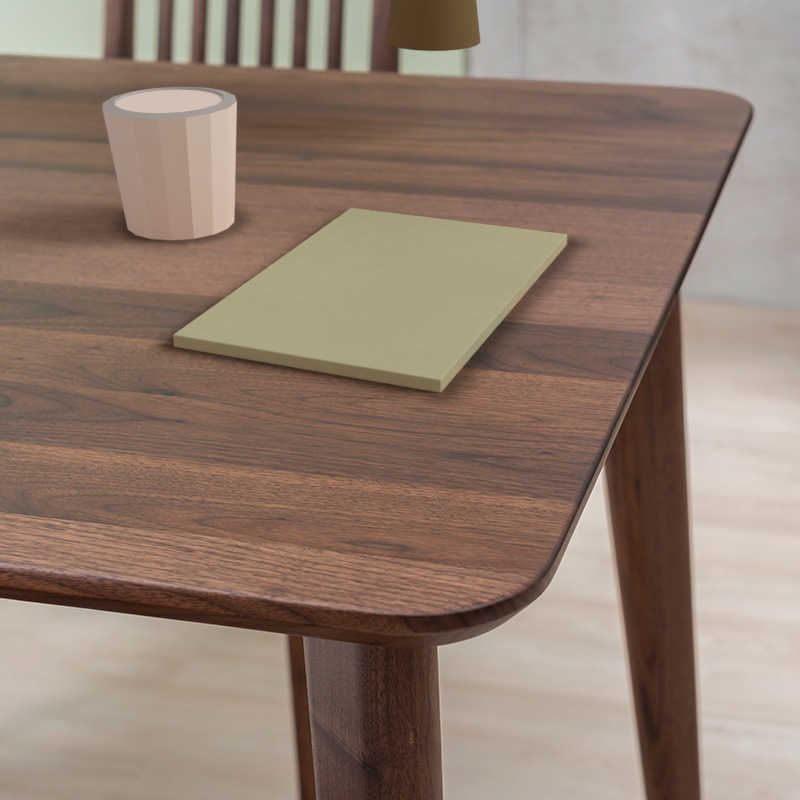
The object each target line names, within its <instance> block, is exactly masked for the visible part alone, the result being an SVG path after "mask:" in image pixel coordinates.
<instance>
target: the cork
mask: <svg viewBox="0 0 800 800" xmlns="http://www.w3.org/2000/svg"><path fill="white" fill-rule="evenodd" d="M479 22H480V21H479V14H478V2H477V0H391V6H390V15H389V23H388V31H387V44H388V45H389V46H392V47H394V48H398V49H401V50H402V49H403V50H409V51H419V52H420V51H422V52H449V51H459V50H465V49H471V48H474V47H476V46H478V45H480V44H481V33H480V23H479Z"/></svg>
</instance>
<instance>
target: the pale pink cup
mask: <svg viewBox="0 0 800 800" xmlns="http://www.w3.org/2000/svg"><path fill="white" fill-rule="evenodd" d="M101 107H102V109H101V110H102V114H103V118H104V119H103V120H104V123H105V128H106V133H107V137H108V142H109V147H110V152H111V157H112V161H113V164H114V165H113V167H114V170H115V175H116V180H117V185H118V190H119V194H120V199H121V204H122V208H123V213H124V219H125V223H126V228H127V230H128V231H129V232H131V233H132V234H133V235H135V236H137V237H141V238H145V239H150V240H159V241H161V240H162V241H182V240H195V239H200V238H204V237H209V236H214V235H216V234H218V233H221V232H223V231H226V230H228V229H229V228H230V227H231V226H232V225H233V224H234V223H235V213H236V212H235V211H236V209H235V208H236V207H235V205H236V166H237V165H236V164H237V160H236V159H237V117H238V116H237V113H238V111H237V110H238V100H237V98H236V95H235V94H232V93H230V92H228V91H226V90H222V89H216V88H210V87H204V86H203V87H199V86H167V87H153V88H152V87H151V88H146V89H145V88H144V89H139V90H132V91H128V92H124V93H121V94H118V95H113V96H112V97H110V98H108V99H107V100H105V101H103V102H102V106H101Z"/></svg>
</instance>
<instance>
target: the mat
mask: <svg viewBox="0 0 800 800" xmlns="http://www.w3.org/2000/svg"><path fill="white" fill-rule="evenodd" d="M567 245H568V234H567V233H562V232H553V231H544V230H536V229H529V228H528V229H527V228H519V227H511V226H503V225H495V224H488V223H487V224H486V223H478V222H471V221H470V222H469V221H461V220H454V219H445V218H437V217H431V216H421V215H413V214H405V213H397V212H387V211H380V210H373V209H365V208H363V209H362V208H354V207H350V208H349V209H347V210H345V211H344V212H343V213H342V214H340V215H339V216H337V217H336V218H335V219H333V220H332V221H331V222H329V223H328V224H326V225H325V226H323V227H322V228H321V229H319V230H318V231H316V232H315V233H313V234H312V235H311V236H309V237H308V238H307V239H305V240H304V241H302V242H301V243H299V244H298V245H297V246H295V247H294V248H292V249H291V250H290V251H289V252H287V253H285V254H284V255H282V256H281V257H280V258H278V259H277V260H276V261H275V262H273V263H272V264H270V265H268V266H267V267H266V268H265V269H263V270H262V271H260V272H258V274H256V275H255V276H253V277H252V278H250V279H249V280H248V281H246V282H245V283H243V284H242V285H240V286H239V287H238V288H236V289H235V290H234V291H232V292H231V293H230V294H228V295H227V296H225V297H224V298H223V299H221V300H219V301H218V302H216V303H215V304H214V305H213V306H212V307H210V308H208V309H207V310H206V311H205V312H203V313H202V314H200V315H199V316H197V317H196V318H194V319H193V320H192V321H190V322H189V323H187V324H186V325H185V326H183V327H182V328H181V329H179V330H178V331H176V332H175V333H173V334H172V337H173V347H175V348H179V349H186V350H191V351H196V352H203V353H208V354H214V355H220V356H225V357H230V358H231V357H232V358H237V359H242V360H243V359H244V360H249V361H253V362H254V361H255V362H261V363H265V364H272V365H278V366H283V367H288V368H289V367H290V368H295V369H301V370H306V371H311V372H318V373H323V374H330V375H335V376H342V377H347V378H353V379H359V380H364V381H370V382H374V383H375V382H376V383H380V384H381V383H382V384H386V385H387V384H388V385H393V386H397V387H398V386H399V387H405V388H410V389H416V390H422V391H427V392H433V393H439V394H440V393H442V392H443V391H444V390H445V389H446V387H448V385H449V384H450V383H451V381H452V380H453V379H454V378H455V377H456V375H457V374H458V373H459V372H460V371H461V370H462V369H463V368H464V366H465V365H466V364H467V363H468V361H470V359H471V358H472V356H474V355H475V353H476V352H477V351H478V350H479V348H480V347H481V346H482V345H483V344H484V343H485V342H486V341H487V339H489V337H490V336H491V335H492V333H494V331H495V330H496V328H497V327H498V326H499V325H500V324H501V322H503V321H504V320H505V318H506V317H507V315H508V314H509V313H510V312H511V311H512V310H513V309H514V307H516V305H517V304H518V303H519V302H520V301H521V300H522V298H523V297H524V296H525V295H526V293H527V292H529V290H530V289H531V288H532V286H533V285H534V284H535V283H536V282H537V280H539V278H540V277H541V276H542V274H543V273H544V272H545V271H546V270H547V269H548V268H549V267H550V265H551V264H552V263H553V262H554V261H555V260H556V258H557V257H558V256H559V255H560V253H561V252H562V251H563V250H564V249H565V248H566V246H567Z"/></svg>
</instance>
